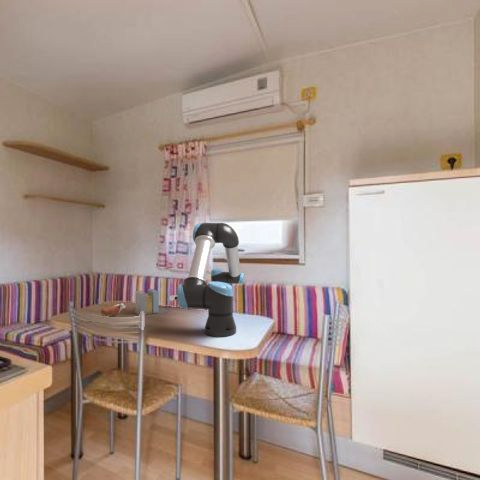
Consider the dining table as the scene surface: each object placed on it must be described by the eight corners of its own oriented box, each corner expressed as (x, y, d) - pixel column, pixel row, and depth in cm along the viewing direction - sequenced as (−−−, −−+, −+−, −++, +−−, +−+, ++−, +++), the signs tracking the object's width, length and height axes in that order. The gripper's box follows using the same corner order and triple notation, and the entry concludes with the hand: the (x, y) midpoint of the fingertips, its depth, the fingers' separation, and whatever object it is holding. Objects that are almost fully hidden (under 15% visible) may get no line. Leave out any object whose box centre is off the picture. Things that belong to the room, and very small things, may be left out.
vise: (162, 309, 181) (162, 288, 180) (169, 313, 172) (169, 291, 171) (134, 313, 171) (134, 291, 171) (139, 318, 162) (139, 294, 162)
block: (148, 310, 174) (148, 293, 174) (152, 313, 167) (152, 295, 167) (141, 311, 172) (141, 294, 172) (145, 314, 165) (145, 296, 165)
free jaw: (152, 308, 177) (152, 288, 176) (158, 312, 168) (158, 291, 168) (147, 309, 175) (147, 289, 175) (153, 313, 167) (153, 292, 166)
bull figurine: (126, 317, 163) (126, 303, 163) (102, 323, 153) (102, 307, 153) (123, 316, 166) (123, 301, 166) (98, 321, 156) (98, 306, 156)
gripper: (208, 301, 185) (173, 306, 172) (199, 297, 196) (165, 302, 182) (208, 289, 185) (173, 294, 172) (199, 286, 196) (165, 290, 182)
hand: (169, 298), depth 177 cm, fingers closed
